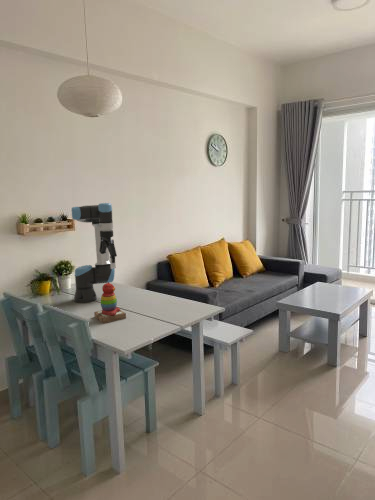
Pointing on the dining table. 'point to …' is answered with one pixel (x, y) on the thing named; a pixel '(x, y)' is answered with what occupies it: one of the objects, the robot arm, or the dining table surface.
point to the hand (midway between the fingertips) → (108, 266)
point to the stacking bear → (109, 300)
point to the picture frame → (108, 318)
